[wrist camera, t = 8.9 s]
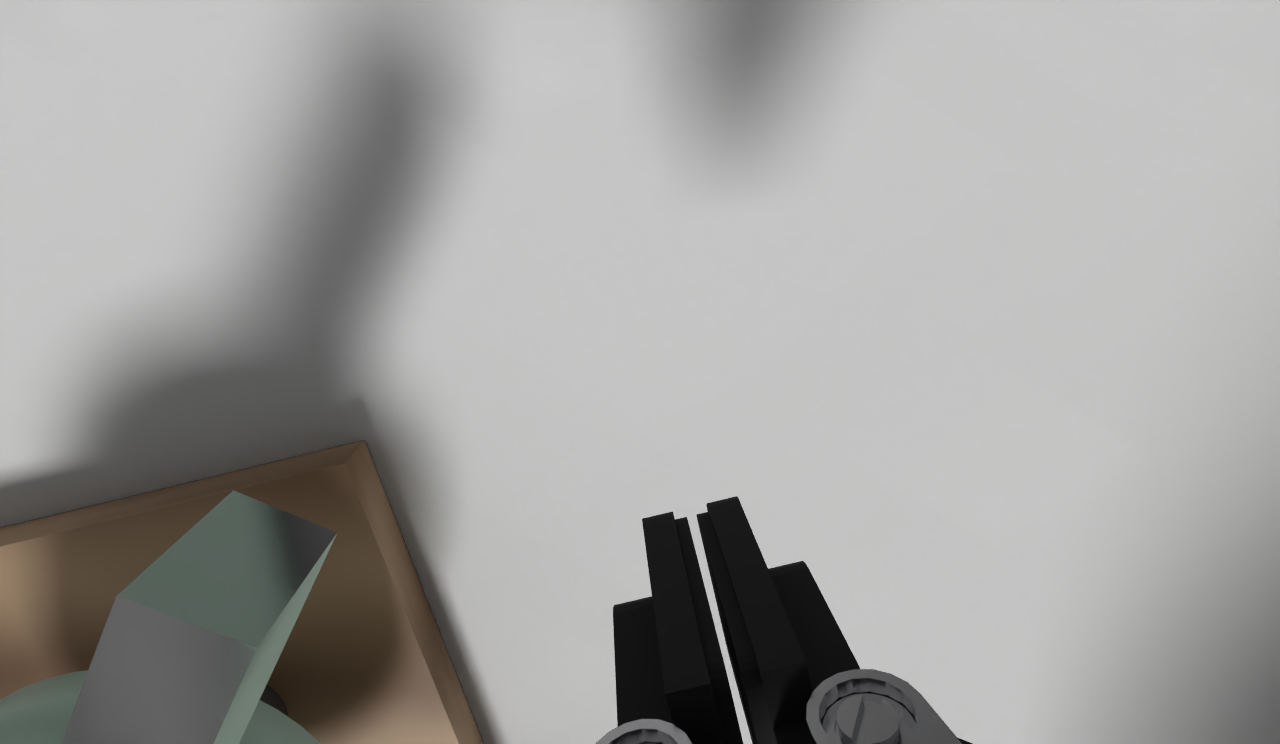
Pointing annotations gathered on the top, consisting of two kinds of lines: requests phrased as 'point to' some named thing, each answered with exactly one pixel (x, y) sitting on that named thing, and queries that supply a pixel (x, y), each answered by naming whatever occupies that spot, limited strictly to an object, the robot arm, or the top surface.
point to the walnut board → (323, 633)
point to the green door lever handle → (189, 641)
